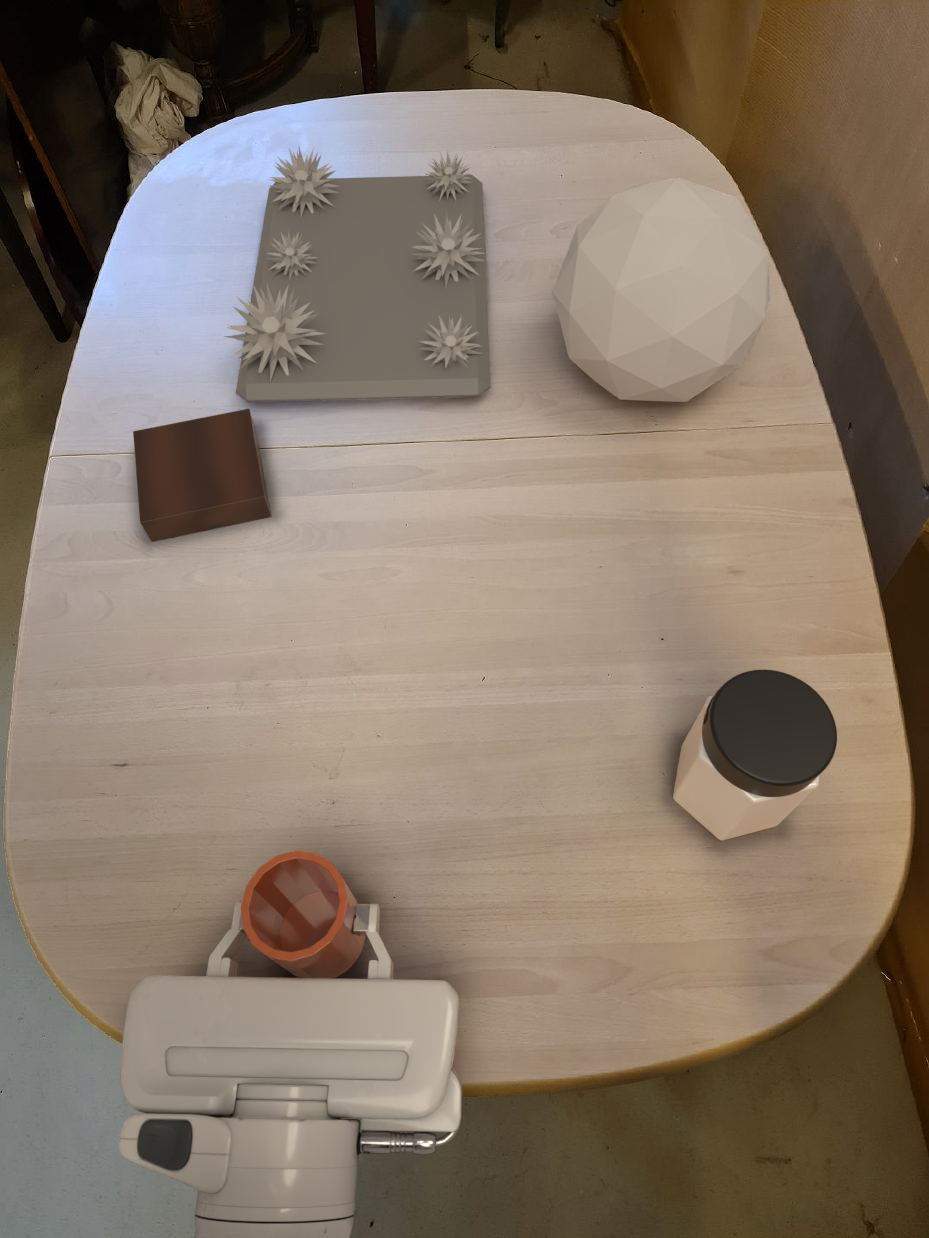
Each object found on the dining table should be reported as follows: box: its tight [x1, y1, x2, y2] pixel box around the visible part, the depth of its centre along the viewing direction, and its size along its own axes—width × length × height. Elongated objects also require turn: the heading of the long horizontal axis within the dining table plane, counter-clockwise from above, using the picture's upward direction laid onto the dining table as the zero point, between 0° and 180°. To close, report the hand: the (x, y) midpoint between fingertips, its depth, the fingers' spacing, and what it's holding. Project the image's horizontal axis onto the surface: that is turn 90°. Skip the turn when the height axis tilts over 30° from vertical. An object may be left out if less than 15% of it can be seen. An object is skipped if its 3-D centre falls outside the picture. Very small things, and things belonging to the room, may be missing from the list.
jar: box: [672, 669, 838, 842], centre depth 60 cm, size 9×8×12 cm
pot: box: [241, 850, 367, 978], centre depth 56 cm, size 6×6×10 cm
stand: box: [132, 408, 272, 543], centre depth 80 cm, size 11×11×3 cm
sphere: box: [551, 176, 771, 403], centre depth 79 cm, size 19×20×20 cm
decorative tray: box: [223, 146, 491, 403], centre depth 90 cm, size 35×26×10 cm
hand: (307, 904), depth 56 cm, fingers closed on pot, 6 cm apart
